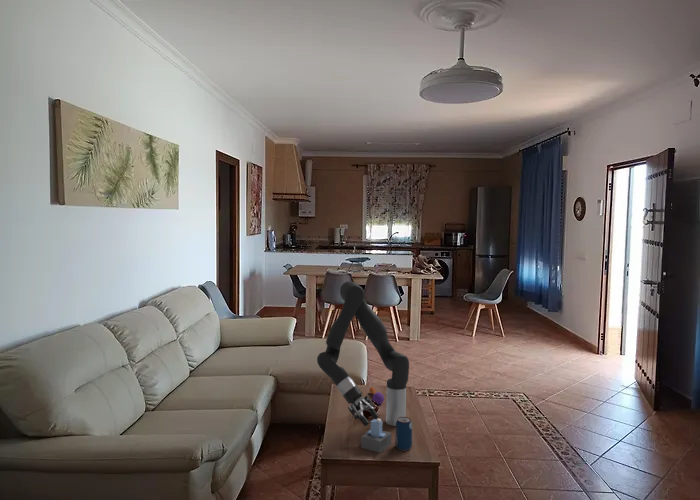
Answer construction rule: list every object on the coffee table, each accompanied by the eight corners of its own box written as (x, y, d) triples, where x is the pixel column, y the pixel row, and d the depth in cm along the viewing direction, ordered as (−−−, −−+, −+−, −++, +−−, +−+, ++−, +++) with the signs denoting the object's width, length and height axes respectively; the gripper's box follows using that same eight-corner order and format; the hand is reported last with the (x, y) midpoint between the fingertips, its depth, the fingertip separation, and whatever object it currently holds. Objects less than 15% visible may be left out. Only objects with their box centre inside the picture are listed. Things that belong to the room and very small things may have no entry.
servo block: (366, 445, 207) (367, 418, 206) (369, 442, 209) (370, 415, 209) (382, 449, 203) (383, 422, 202) (385, 446, 206) (386, 419, 205)
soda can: (415, 447, 205) (415, 419, 205) (404, 452, 200) (405, 424, 200) (402, 442, 210) (403, 414, 210) (391, 447, 205) (392, 419, 205)
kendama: (378, 385, 274) (386, 395, 254) (376, 396, 273) (383, 406, 253) (368, 383, 273) (374, 393, 253) (366, 394, 272) (372, 404, 253)
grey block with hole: (372, 439, 213) (372, 428, 213) (391, 444, 208) (391, 433, 208) (361, 447, 204) (361, 436, 204) (380, 453, 200) (380, 441, 199)
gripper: (346, 389, 205) (369, 422, 199) (362, 380, 217) (385, 411, 212) (335, 399, 208) (358, 432, 202) (352, 390, 220) (374, 420, 215)
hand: (372, 421), depth 207 cm, fingers open, 8 cm apart
